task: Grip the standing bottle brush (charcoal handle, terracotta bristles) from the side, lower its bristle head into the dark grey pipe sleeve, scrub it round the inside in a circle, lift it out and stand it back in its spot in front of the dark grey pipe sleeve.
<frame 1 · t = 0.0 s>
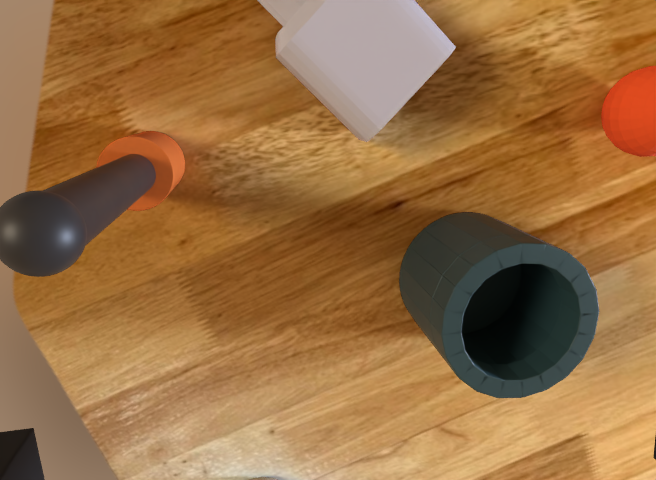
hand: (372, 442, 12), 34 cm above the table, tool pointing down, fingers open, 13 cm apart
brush: (152, 163, 43), on the table
clementine: (623, 105, 47), on the table
charger: (328, 25, 42), on the table
dark grey pipe sleeve: (461, 275, 48), on the table
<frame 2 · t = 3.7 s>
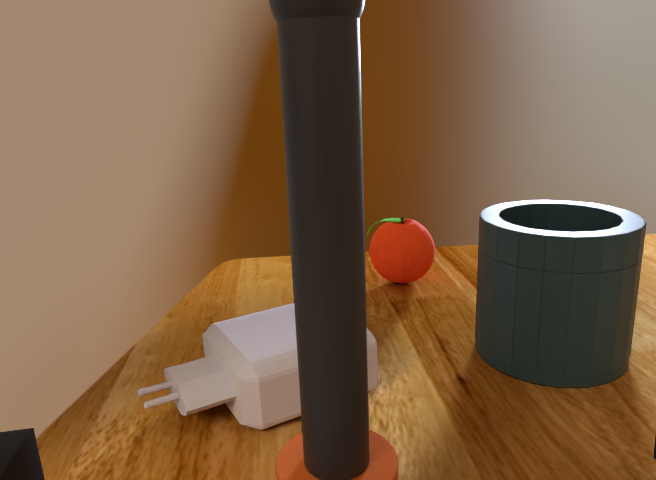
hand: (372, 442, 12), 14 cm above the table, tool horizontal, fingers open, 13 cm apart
clementine: (397, 282, 61), on the table
charger: (254, 400, 39), on the table
dark grey pipe sleeve: (548, 350, 44), on the table
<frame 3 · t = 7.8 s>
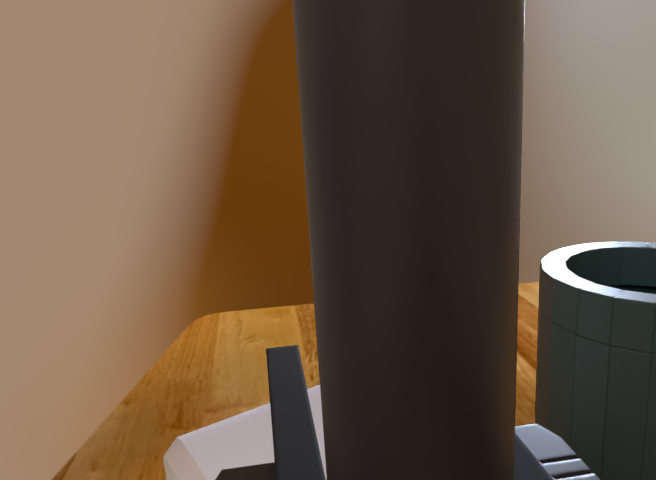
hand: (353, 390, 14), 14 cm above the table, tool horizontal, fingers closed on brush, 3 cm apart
dark grey pipe sleeve: (636, 445, 33), on the table
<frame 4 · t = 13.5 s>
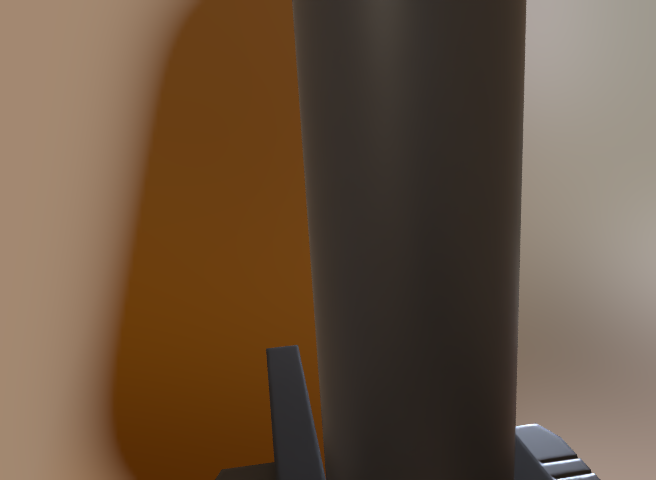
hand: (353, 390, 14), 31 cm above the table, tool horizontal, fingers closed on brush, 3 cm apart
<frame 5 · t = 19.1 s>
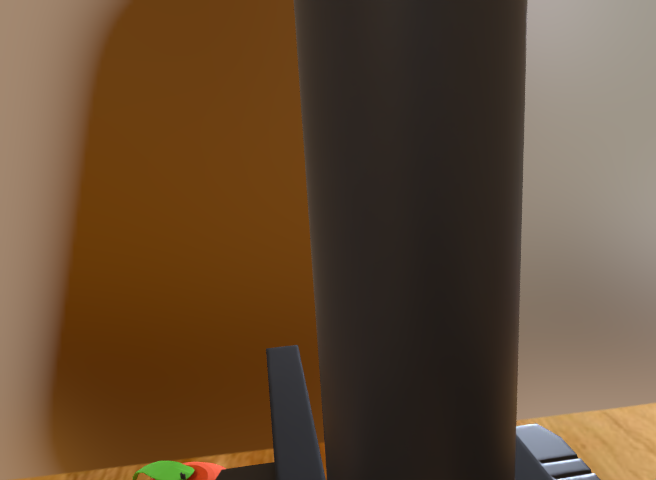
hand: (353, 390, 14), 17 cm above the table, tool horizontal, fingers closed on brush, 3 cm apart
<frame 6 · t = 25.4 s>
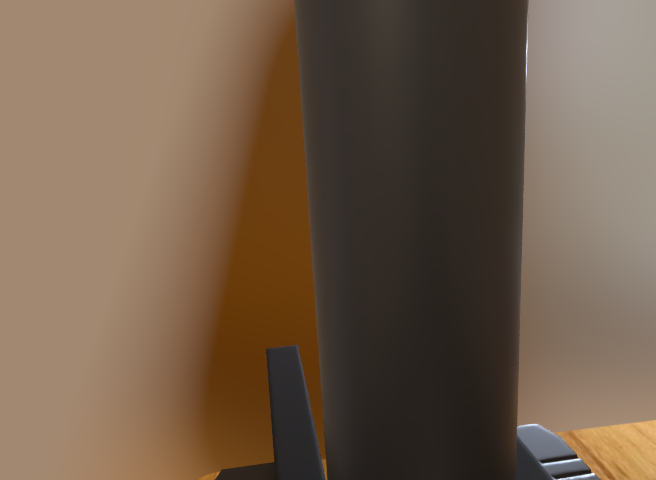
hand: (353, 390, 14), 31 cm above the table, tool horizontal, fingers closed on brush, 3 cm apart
when the fingers open (14 cm above the table, at t = 30.6 s): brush stays where it is, on the table.
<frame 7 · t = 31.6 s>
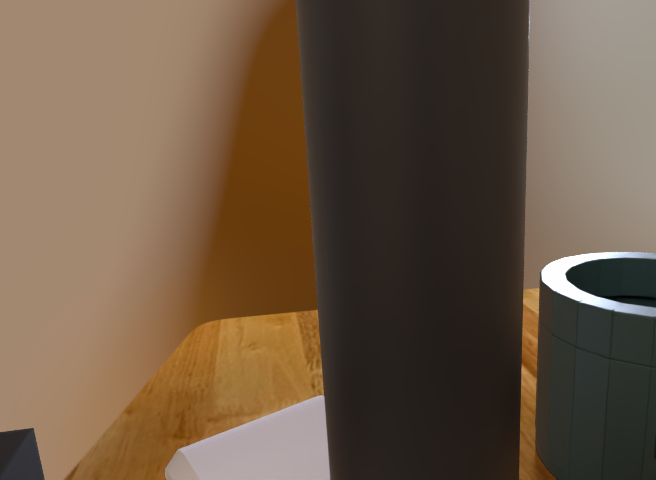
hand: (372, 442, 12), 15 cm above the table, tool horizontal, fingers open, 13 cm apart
dark grey pipe sleeve: (635, 455, 33), on the table
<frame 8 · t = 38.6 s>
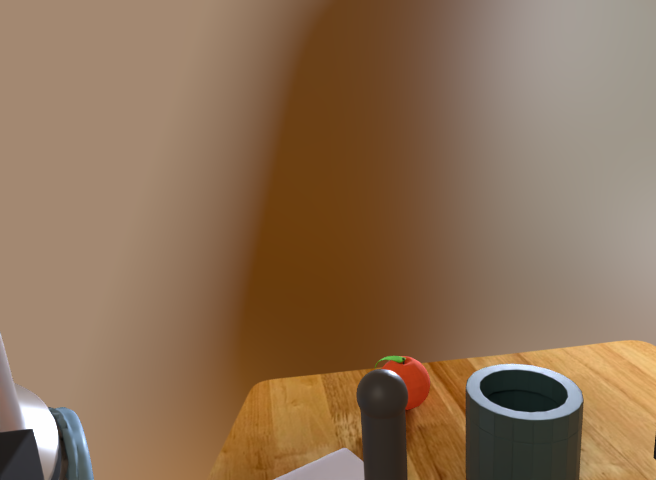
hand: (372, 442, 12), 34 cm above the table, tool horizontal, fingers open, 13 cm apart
clementine: (401, 406, 76), on the table
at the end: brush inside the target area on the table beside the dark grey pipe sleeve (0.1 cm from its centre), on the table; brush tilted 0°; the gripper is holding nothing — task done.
